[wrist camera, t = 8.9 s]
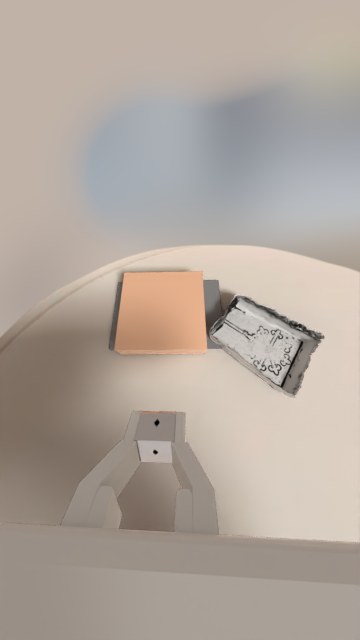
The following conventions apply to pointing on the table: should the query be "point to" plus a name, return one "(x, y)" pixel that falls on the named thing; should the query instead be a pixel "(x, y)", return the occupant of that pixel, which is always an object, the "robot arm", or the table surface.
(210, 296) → the mat
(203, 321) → the orange block
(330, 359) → the table surface
